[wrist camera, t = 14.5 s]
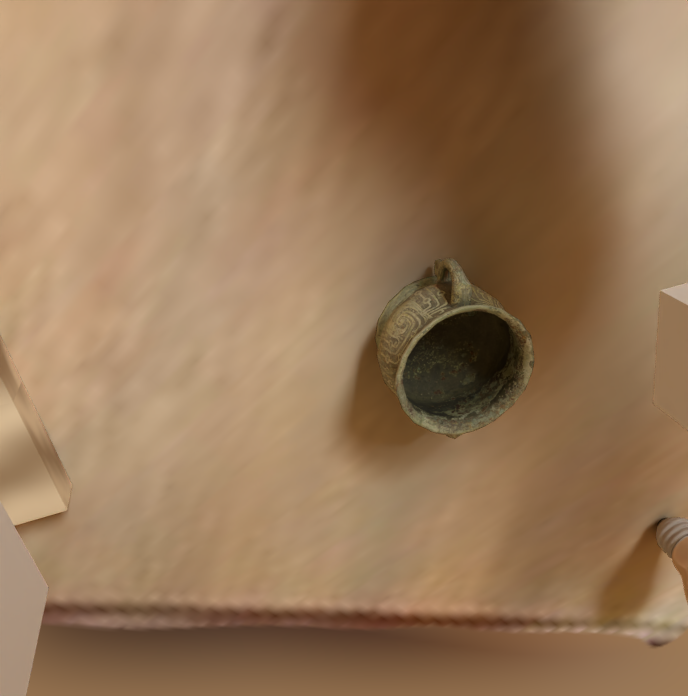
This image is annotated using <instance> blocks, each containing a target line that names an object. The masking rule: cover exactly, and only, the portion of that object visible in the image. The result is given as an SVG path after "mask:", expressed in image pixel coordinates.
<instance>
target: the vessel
mask: <svg viewBox="0 0 688 696" xmlns="http://www.w3.org/2000/svg"><path fill="white" fill-rule="evenodd" d="M434 272H435V276H432V277H428V278H424V279H421V280H418V281H415V282H413V283H411V284H410V285H408V286H406V287H404V288H403V289H402V290H401V291H400V292H399V293H398V294H397V295H396V296H395V297H394V298H393V299H391V300H390V301H389V302H388V304H387V306H386V307H385V309H384V311H383V313H382V314H381V316H380V318H379V319H378V324H377V330H376V336H375V340H376V344H377V348H378V353H377V358H378V361H379V365H380V369H381V372H382V376H383V379H384V382H385V383H386V385H387V386H388V387H389V388H390V389H391V390H392V391H393V393H394V394H395V395H396V396H397V397H398V399H399V401H400V404H401V407H402V409H403V411H404V412H405V413H406V414H407V415H408V416H409V418H410V419H411V420H412V421H413V422H414V423H415V424H417V425H419V426H421V427H423V428H425V429H427V430H429V431H431V432H435V433H439V434H445V435H446V436H448V437H450V438H454V439H456V438H457V437H458V436H460V435H462V434H464V433H468V432H472V431H475V430H477V429H480V428H482V427H484V426H486V425H488V424H490V423H491V422H493V421H495V420H496V419H497V418H498V417H499V416H501V415H502V414H503V413H504V412H505V411H507V410H508V409H509V408H510V407H511V406H513V404H514V403H515V402H516V401H517V399H518V398H519V397H520V395H521V394H522V393H523V391H524V390H525V389H526V386H527V384H528V381H529V378H530V376H531V373H532V370H533V365H534V351H533V345H532V339H531V335H530V334H529V333H528V331H527V330H526V328H525V327H524V325H523V324H522V323H521V321H520V320H518V319H517V318H515V317H513V316H512V315H510V314H509V313H507V312H506V311H505V310H504V308H503V306H502V305H501V303H500V302H499V301H498V300H497V299H496V298H494V297H493V296H491V295H489V294H488V293H486V292H485V291H483V290H482V289H480V288H479V287H477V286H475V285H473V284H470V282H469V281H468V279H467V277H466V275H465V273H464V272H463V270H462V268H461V266H460V265H459V264H458V263H457V262H456V260H454V259H450V258H449V259H444V260H443V261H442V260H441V259H438V260H436V261H435V265H434Z"/></svg>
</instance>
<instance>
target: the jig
mask: <svg viewBox="0 0 688 696" xmlns="http://www.w3.org/2000/svg"><path fill="white" fill-rule="evenodd" d="M71 489H72V484H71V482H70V479H69V477H68V475H67V473H66V471H65V469H64V467H63V465H62V463H61V461H60V459H59V457H58V455H57V452H56V450H55V448H54V446H53V444H52V442H51V440H50V438H49V436H48V434H47V432H46V430H45V428H44V425H43V423H42V421H41V419H40V417H39V415H38V413H37V411H36V409H35V407H34V405H33V403H32V401H31V398H30V396H29V394H28V392H27V390H26V388H25V386H24V384H23V382H22V380H21V378H20V376H19V374H18V371H17V369H16V367H15V365H14V363H13V361H12V359H11V357H10V355H9V353H8V351H7V349H6V347H5V344H4V342H3V340H2V338H1V336H0V501H1V503H2V505H3V507H4V508H5V510H6V512H7V514H8V516H9V517H10V519H11V521H12V523H13V525H14V526H15V525H18V524H22V523H25V522H29V521H32V520H36V519H39V518H42V517H46V516H49V515H53V514H56V513H60V512H63V511H67V508H68V504H69V499H70V494H71Z"/></svg>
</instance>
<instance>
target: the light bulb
mask: <svg viewBox="0 0 688 696" xmlns="http://www.w3.org/2000/svg"><path fill="white" fill-rule="evenodd" d="M656 540H657V543H658V545H659V547H660V548H662V549H663V551H664V552H665V553H667V555H668V556H669V557H670V558H672V562H673V564H674V567H675V568H676V570H677V571H678V572H679V574H680V576H681V578H682V582H683V588H684V593H685V597H686V601H687V604H688V520H687V519H685V518H679V517H671V518H664V519H662V520H661V521H660V522H659V523H658V527H657V531H656Z"/></svg>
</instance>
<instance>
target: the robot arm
mask: <svg viewBox="0 0 688 696" xmlns="http://www.w3.org/2000/svg"><path fill="white" fill-rule="evenodd" d="M653 404H654V405H655V406H657V407H658V408H659V409H661V410H662V411H663V412H664V413H666V414H667V415H668V416H670V417H671V418H672V419H673V420H675V421H676V422H677V423H679V424H680V425H681V426H682V427H684V428H685V429H686V430H688V283H684V284H681V285H677V286H673V287H670V288H666V289H663V290H660V297H659V313H658V329H657V345H656V360H655V376H654V392H653ZM48 588H49V587H48V586H47V584H46V582H45V580H44V578H43V577H42V575H41V573H40V571H39V569H38V568H37V566H36V564H35V562H34V560H33V559H32V557H31V555H30V553H29V551H28V550H27V548H26V546H25V544H24V542H23V541H22V539H21V537H20V535H19V534H18V532H17V530H16V528H15V526H14V525H13V523H12V521H11V519H10V517H9V516H8V514H7V512H6V510H5V508H4V507H3V505H2V503H1V501H0V696H26V693H27V688H28V684H29V679H30V674H31V670H32V665H33V660H34V654H35V650H36V646H37V641H38V635H39V631H40V627H41V622H42V617H43V612H44V607H45V603H46V598H47V593H48Z"/></svg>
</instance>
